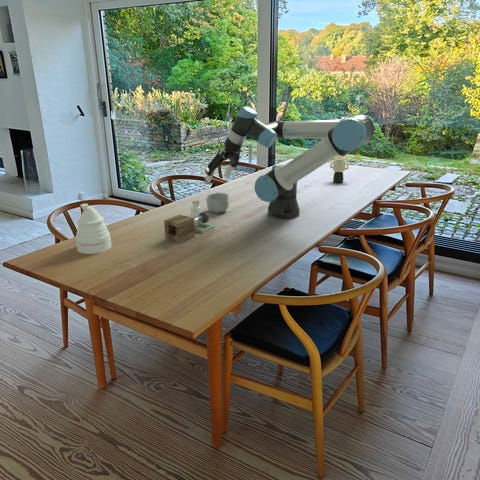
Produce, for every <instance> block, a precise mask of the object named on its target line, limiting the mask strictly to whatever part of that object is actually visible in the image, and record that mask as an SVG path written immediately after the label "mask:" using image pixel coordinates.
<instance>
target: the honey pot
mask: <svg viewBox="0 0 480 480" xmlns="http://www.w3.org/2000/svg"><path fill="white" fill-rule="evenodd" d="M80 208H81V209H82V213H81V216H80V217H79V218H78V219H77V220H76V223H77V224H78V225H77V228H76V230H77V231H76V234H75V243H76V249H77V252H78V253H80V254H83V255H84V254H85V255H94V254H101V253H104V252H107V251H108V250H110V249H111V248H112V239H111V234H110V231H109V230H108V227H107V224H106V223H105V217H104V216H102V215H100V213H99V212H98V211H97V210H96V209H95V208H94V207H92V206H89V204H88V203H83V204H80ZM106 250H107V251H106Z"/></svg>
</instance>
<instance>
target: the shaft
mask: <svg viewBox="0 0 480 480" xmlns="http://www.w3.org/2000/svg"><path fill="white" fill-rule="evenodd" d="M209 216H210V215H209V214H208V213H207V212H206V211H202V212H201V213H200V214H199V216H197V217H195V218H194V225H196V224H199V223H201V222H202V223H209V220H210V217H209Z"/></svg>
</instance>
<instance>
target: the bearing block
mask: <svg viewBox="0 0 480 480" xmlns="http://www.w3.org/2000/svg"><path fill="white" fill-rule="evenodd" d="M163 223H164V225H163V226H164V237H165V240H166V241H171V242H174V243H177V244H182V243H184V242H186V241H188V240H190V239H193V238H194V237H196V236H195V235H196V234H195V233H196V231H194V218H192V217H191V216H187V215H183V214H177V215H175V216H172V217H169V218H167V219H164V220H163Z"/></svg>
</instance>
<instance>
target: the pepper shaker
mask: <svg viewBox="0 0 480 480" xmlns="http://www.w3.org/2000/svg"><path fill="white" fill-rule="evenodd" d="M191 204H192V206H191V207H190V217H192V218H195V217H197V216H199V214H200V213H201V212H203V210H202V209H203V208H202V205H201V206H200V199H198V198H194V199H192V200H191Z"/></svg>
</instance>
